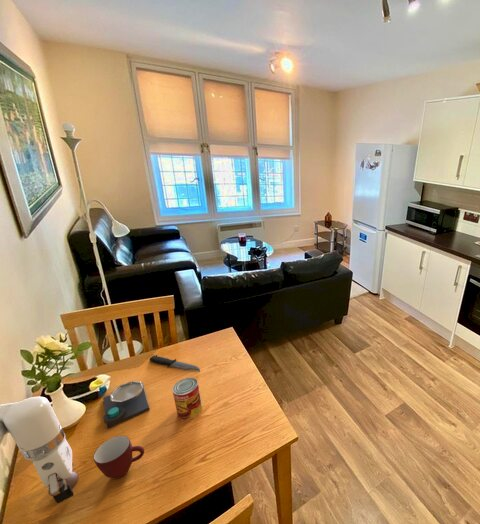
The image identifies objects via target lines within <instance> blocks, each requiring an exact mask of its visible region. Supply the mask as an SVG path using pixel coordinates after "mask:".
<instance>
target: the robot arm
mask: <svg viewBox="0 0 480 524" xmlns="http://www.w3.org/2000/svg"><path fill="white" fill-rule="evenodd" d="M7 434H10V436H11V438H12V439H13V441H14V442H15V444H16V446H17V447H18V449H19V451H20V453H21V455H22V456H23V458H24V459H26V460H27V461H32V464H33V466H34V468H35V470H36V472H37V475H38V477H39V479H40V480H41V483H42V484H43V485H44V486H45V487H46V488H49V487H50V491H51V495H52V496H51V495H50V496H51V497H53V500H54V501H55V503H56V504H60V503H62V502H64V501H66V500H68V499H70V498H71V497H73V496H74V491H73V489H71V487H70V485H67V482H66V478H68V477H70V476H71V474H72V472H73V467H74V462H73V450H72V448H71V447H72V446H71V445H70V443H69V442H68V440H67V439H66V433H65V431H64V429H63V427H62V425H61V423H60V421H59V418H58V416H57V415H56V413H55V410H54V408H53V407H52V404H51V402H50V401H49V400H48V398H47V397H44V396H39V395H38V396H31V397H28V398H25V399H23V400H21V401H16V402H10V403H3V404H0V445H1V444H2V442H3V440H4V438H5V436H6V435H7ZM57 477H60V479H57ZM60 481H62V484H63V486H62V487H60V488H59V486H58V482H60Z"/></svg>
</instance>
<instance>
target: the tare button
mask: <svg viewBox="0 0 480 524" xmlns="http://www.w3.org/2000/svg"><path fill="white" fill-rule="evenodd" d="M108 415H109V417H110V418H114V417H116V416H117V415H119V409H118V408H117V407H115V408H112V409H110V410H109V411H108Z"/></svg>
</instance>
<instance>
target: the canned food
mask: <svg viewBox="0 0 480 524" xmlns="http://www.w3.org/2000/svg"><path fill="white" fill-rule="evenodd" d="M171 391H172V395H173V400H174V404H175V409H176V414H177V417H178V418H179V420H181V421H189V420H192V419H194V418H196V417H197V416H198V415H199V414H200V413H201V412H202V410H203V402H202V396H201V391H200V386H199V381H198V379H197V378H195V377H190V376H189V377H185V378H182V379H180V380H178V381H176V382H175V383H174V385H173V386H172V389H171Z"/></svg>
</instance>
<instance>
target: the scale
mask: <svg viewBox="0 0 480 524" xmlns="http://www.w3.org/2000/svg"><path fill="white" fill-rule="evenodd" d="M141 383H142V386H143V391H142V392H141V393H140V394H139V395H138V396H137V397H136V398H135V399H133V400H131V401H128V402H125V403H122V404H120V403H112V402H111V399H110V394H109V395H106V396H104V397H103V405H104V406H103V407H104V415H103V422H104V424H105V425H106V429H107V430H109V429H111V428H113V427H115V426H118V425H120V424H123V423H124V422H126V421H129V420H131V419H133V418H136V417H138V416H140V415H142V414H144V413H146V412H149V411H151V410H150V409H151V408H150V404H149V401H148V397H147V393H146V391H145V387H144V383H143V382H141ZM115 407H117V408H118V409H119V415H117V416H116V417H114V418H110V417H109V415H108V411H109V410H110V409H112V408H115Z"/></svg>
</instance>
